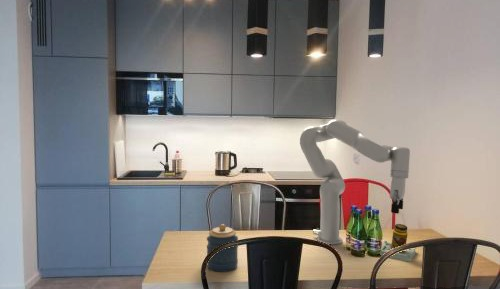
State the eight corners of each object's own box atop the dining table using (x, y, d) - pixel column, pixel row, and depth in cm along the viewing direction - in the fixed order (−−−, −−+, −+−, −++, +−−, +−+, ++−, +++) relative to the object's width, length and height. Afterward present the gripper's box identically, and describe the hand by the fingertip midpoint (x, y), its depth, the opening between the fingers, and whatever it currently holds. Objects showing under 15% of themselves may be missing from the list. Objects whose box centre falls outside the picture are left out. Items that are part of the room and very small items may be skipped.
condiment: (396, 254, 157) (400, 229, 155) (384, 245, 165) (387, 221, 163) (409, 252, 160) (413, 228, 157) (396, 244, 168) (400, 220, 165)
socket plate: (377, 254, 160) (377, 248, 160) (384, 246, 172) (384, 240, 171) (410, 261, 152) (410, 255, 152) (415, 252, 164) (415, 246, 164)
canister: (207, 273, 138) (208, 229, 137) (205, 260, 151) (205, 220, 150) (240, 271, 141) (240, 228, 139) (235, 258, 153) (235, 219, 152)
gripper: (394, 171, 169) (392, 205, 170) (386, 175, 155) (384, 213, 156) (411, 172, 165) (408, 208, 166) (405, 177, 150) (402, 216, 152)
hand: (397, 210), depth 161 cm, fingers open, 9 cm apart
